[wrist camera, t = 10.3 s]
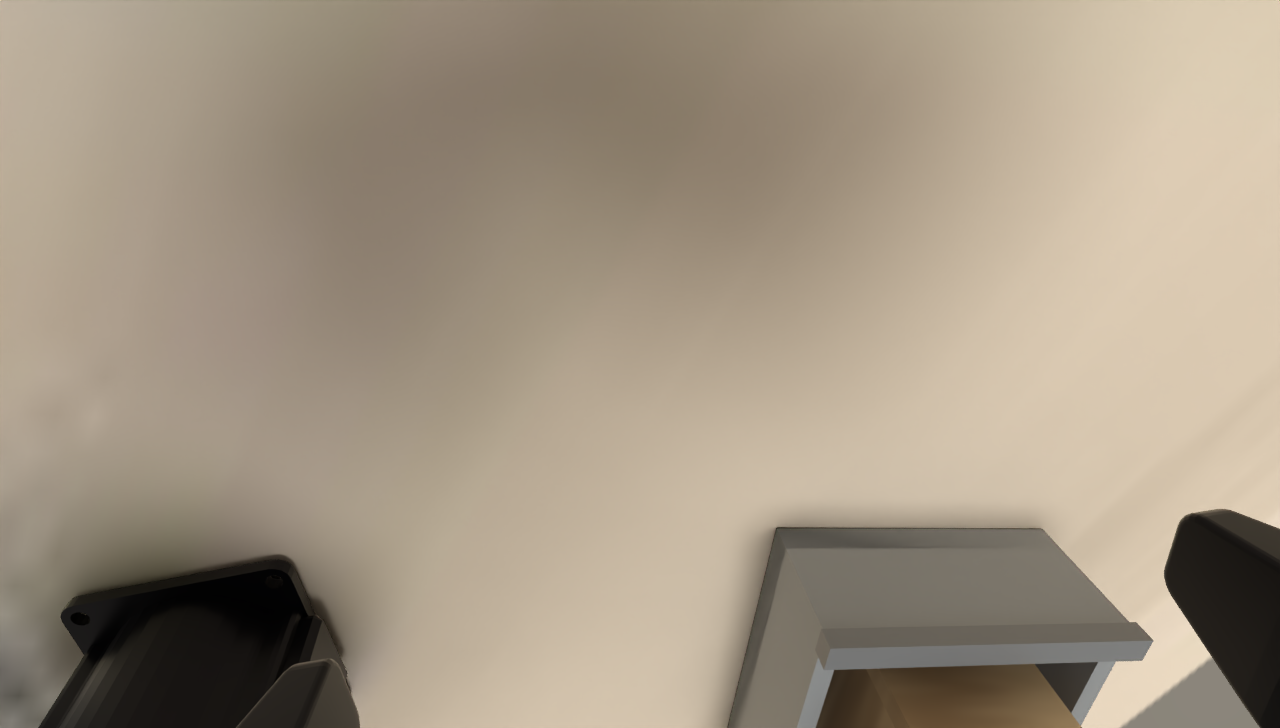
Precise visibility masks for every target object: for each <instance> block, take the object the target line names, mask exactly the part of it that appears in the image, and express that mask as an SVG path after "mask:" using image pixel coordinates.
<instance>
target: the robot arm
mask: <svg viewBox="0 0 1280 728" xmlns="http://www.w3.org/2000/svg"><path fill="white" fill-rule="evenodd" d="M271 575H276V576H278V577H280V578H281V579H275V578H272V577H271ZM1164 578H1165V582H1166V585H1167V588H1168V590H1169V592H1170V594H1171V596H1172V597H1173V599H1174V600H1175V602H1176V603H1177V605H1178V606H1179V608H1180V609H1181V611H1182V612H1183V614H1184V615H1185V617H1186V618H1187V620H1188V621H1189V623H1190V624H1191V626H1192V628H1193V629H1194V631H1195V632H1196V634H1197V635H1198V637H1199V638H1200V640H1201V641H1202V643H1203V644H1204V646H1205V647H1206V649H1207V650H1208V652H1209V653H1210V655H1211V656H1212V658H1213V659H1214V661H1215V662H1216V664H1217V665H1218V667H1219V668H1220V670H1221V671H1222V673H1223V674H1224V676H1225V677H1226V679H1227V680H1228V682H1229V683H1230V685H1231V686H1232V688H1233V689H1234V690H1235V692H1236V694H1237V695H1238V696H1239V698H1240V699H1241V701H1242V703H1243V704H1244V706H1245V707H1246V708H1247V710H1248V711H1249V712H1250V714H1251V716H1252V717H1253V719H1254V720H1255V721H1256V723H1257V724H1258V725H1259V727H1260V728H1280V529H1279V528H1276V527H1273V526H1271V525H1268V524H1266V523H1263V522H1260V521H1258V520H1255V519H1252V518H1250V517H1247V516H1245V515H1242V514H1239V513H1237V512H1234V511H1231V510H1226V509H1215V510H1209V511H1203V512H1197V513H1191V514H1188V515H1186V516H1185V517H1184V518H1183V519H1181V521H1180V522H1179V525H1178V527H1177V530H1176V534H1175V537H1174V540H1173V543H1172V546H1171V550H1170V553H1169V556H1168V559H1167V562H1166V566H1165V570H1164ZM80 612H82V613H84V614H82V613H80ZM85 614H87V615H85ZM61 620H62V622H63V624H64V625H65V627H66V628H67V630H68V631H69V633H70V634H71V636H72V637H73V639H74V640H75V642H76V643H77V645H78V646H79V648H80V649H81V651H82V652H83V654H84V655H85V656H84V657H83V659H82V660H81V662H80V663H79V665H78V666H77V668H76V670H75V671H74V673H73V674H72V676H71V677H70V679H69V681H68V682H67V684H66V685H65V687H64V688H63V690H62V692H61V693H60V695H59V696H58V698H57V699H56V701H55V703H54V704H53V706H52V707H51V709H50V710H49V712H48V713H47V715H46V717H45V718H44V720H43V721H42V723H41V724H40V726H39V728H360V722H359V715H358V711H357V708H356V706H355V703H354V701H353V698H352V696H351V692H350V690H349V688H348V686H347V683H346V677H347V671H346V669H345V667H344V665H343V662H342V660H341V658H340V656H339V653H338V651H337V649H336V647H335V644H334V642H333V640H332V638H331V636H330V633H329V631H328V629H327V627H326V624H325V622H324V620H323V619H321V618H320V617H319V616H318V615H315V613H314V611H313V608H312V606H311V604H310V602H309V600H308V597H307V595H306V593H305V591H304V588H303V586H302V584H301V582H300V580H299V577H298V575H297V573H296V571H295V569H294V568H293V566H292V565H291V564H289V563H288V562H286V561H283V560H268V561H263V562H258V563H252V564H247V565H242V566H237V567H231V568H226V569H221V570H215V571H210V572H205V573H199V574H194V575H189V576H184V577H178V578H173V579H168V580H162V581H157V582H152V583H146V584H141V585H136V586H130V587H125V588H120V589H115V590H109V591H104V592H99V593H93V594H88V595H83V596H78V597H76V598H73V599H72V600H71V601H70V602H69V603H68V604H67V606H66V607H65V609H64V610H63V611H62V613H61Z"/></svg>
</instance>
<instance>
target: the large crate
mask: <svg viewBox="0 0 1280 728" xmlns="http://www.w3.org/2000/svg"><path fill="white" fill-rule="evenodd" d="M1152 642H1153V640H1152V639H1151V638H1150V636H1149V635H1148V634H1147V633H1146V632H1145V631H1144V630H1143V629H1142V628H1141V627H1140V626H1139V625H1138V624H1137V623H1136V622H1129V621H1128V620H1127V619H1126V618H1125V617H1124V616H1123V615H1122V614H1121V613H1120V612H1119V611H1118V610H1117V608H1116V607H1115V606H1114V605H1113V604H1112V603H1111V602H1110V601H1109V600H1108V599H1107V598H1106V597H1105V596H1104V595H1103V593H1102V592H1101V591H1100V590H1099V589H1098V588H1097V587H1096V586H1095V585H1094V584H1093V583H1092V582H1091V581H1090V580H1089V578H1088V577H1087V576H1086V575H1085V574H1084V573H1083V572H1082V571H1081V570H1080V569H1079V568H1078V567H1077V566H1076V565H1075V563H1074V562H1073V561H1072V560H1071V559H1070V558H1069V557H1068V556H1067V555H1066V554H1065V553H1064V552H1063V551H1062V550H1061V548H1060V547H1059V546H1058V545H1057V544H1056V543H1055V542H1054V541H1053V540H1052V539H1051V538H1050V537H1049V536H1048V535H1047V534H1046V532H1045V531H1044V530H1043V529H864V528H777V529H776V533H775V537H774V541H773V545H772V549H771V553H770V557H769V561H768V565H767V570H766V574H765V578H764V582H763V586H762V590H761V594H760V598H759V602H758V606H757V610H756V614H755V618H754V622H753V627H752V631H751V635H750V639H749V643H748V647H747V651H746V655H745V659H744V663H743V667H742V671H741V675H740V680H739V684H738V688H737V692H736V696H735V700H734V704H733V708H732V712H731V716H730V720H729V724H728V728H816V725H817V722H818V719H819V716H820V713H821V710H822V707H823V703H824V700H825V697H826V694H827V691H828V688H829V685H830V682H831V678H832V675H833V672H834V670H848V669H881V668H914V667H947V666H980V665H1013V664H1035V665H1036V667H1037V668H1038V669H1039V671H1040V672H1041V673H1042V675H1043V676H1044V677H1045V679H1046V680H1047V681H1048V683H1049V684H1050V685H1051V687H1052V688H1053V689H1054V691H1055V692H1056V694H1057V695H1058V696H1059V698H1060V699H1061V700H1062V702H1063V703H1064V704H1065V706H1066V707H1067V708H1068V710H1069V711H1070V712H1071V714H1072V715H1073V716H1074V718H1075V719H1076V721H1077V722H1078V723H1079V725H1080V726H1081V724H1082V723H1083V721H1084V719H1085V717H1086V715H1087V713H1088V712H1089V710H1090V708H1091V706H1092V704H1093V702H1094V700H1095V699H1096V697H1097V695H1098V693H1099V691H1100V689H1101V688H1102V686H1103V684H1104V682H1105V680H1106V678H1107V677H1108V675H1109V673H1110V671H1111V669H1112V667H1113V666H1114V664H1115V662H1116V661H1142V660H1143V658H1144V656H1145V655H1146V653H1147V651H1148V649H1149V648H1150V646H1151V644H1152Z"/></svg>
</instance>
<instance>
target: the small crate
mask: <svg viewBox="0 0 1280 728" xmlns="http://www.w3.org/2000/svg"><path fill="white" fill-rule="evenodd" d="M816 728H1082V727H1081V726H1080V725H1079V723H1078V722H1077V721H1076V719H1075V718H1074V716H1073V715H1072V714H1071V712H1070V711H1069V710H1068V708H1067V707H1066V706H1065V704H1064V703H1063V702H1062V700H1061V699H1060V698H1059V696H1058V695H1057V694H1056V692H1055V691H1054V689H1053V688H1052V687H1051V685H1050V684H1049V683H1048V681H1047V680H1046V679H1045V677H1044V676H1043V675H1042V673H1041V672H1040V671H1039V669H1038V668H1037V667H1036V665H1035V664H1013V665H980V666H947V667H914V668H881V669H848V670H834V672H833V675H832V678H831V682H830V685H829V688H828V691H827V694H826V697H825V700H824V703H823V707H822V710H821V713H820V716H819V719H818V722H817V725H816Z"/></svg>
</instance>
